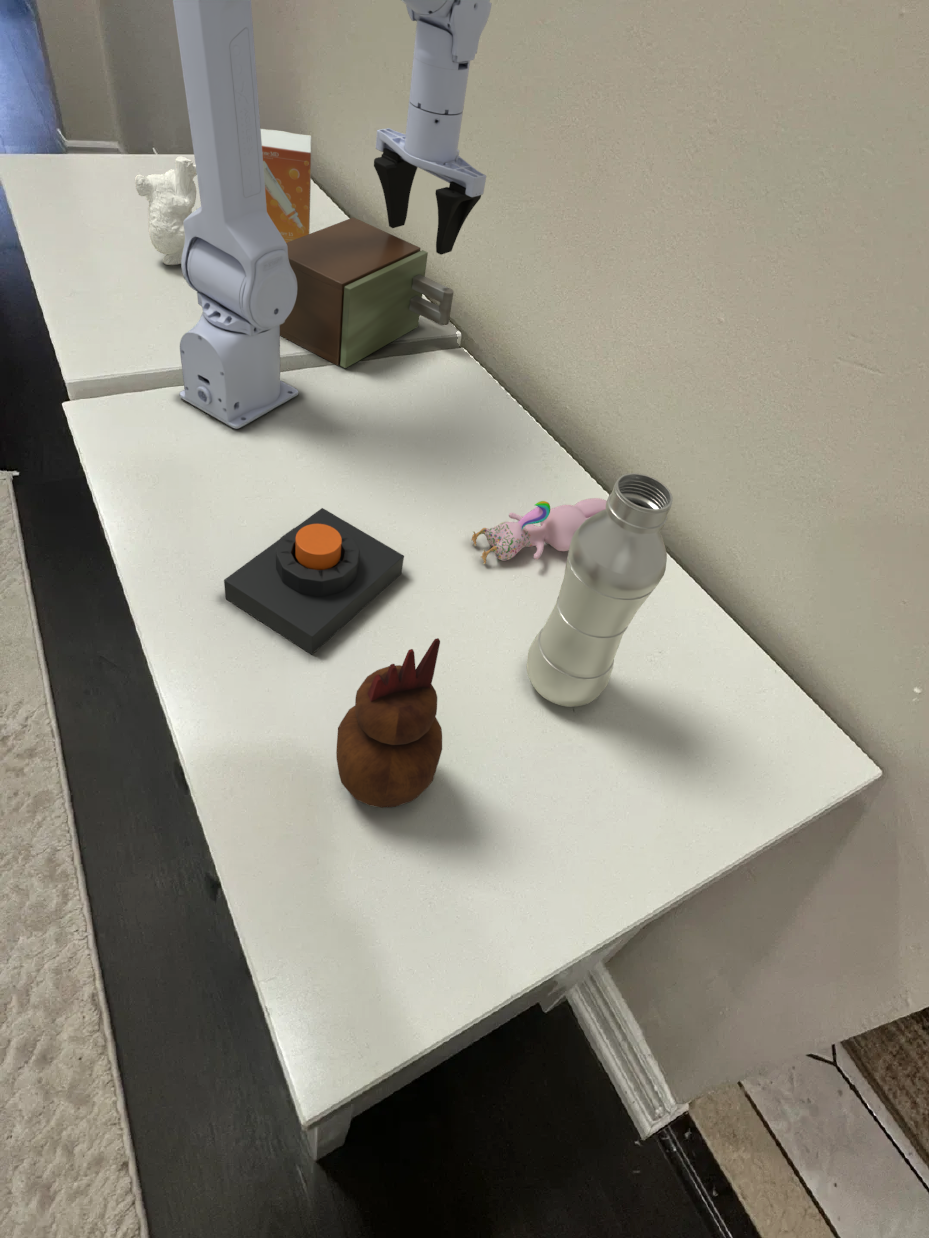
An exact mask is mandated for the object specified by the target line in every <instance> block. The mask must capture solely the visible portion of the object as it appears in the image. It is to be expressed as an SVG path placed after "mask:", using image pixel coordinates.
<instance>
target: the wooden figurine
mask: <svg viewBox="0 0 929 1238" xmlns="http://www.w3.org/2000/svg"><path fill="white" fill-rule="evenodd" d="M440 645H441V640H440V638H438V637H437V638H434V640H433V641H432V643H431V644H430V646H429V647H428V649H427V650H426V652H425V653H424V655H423V657H422V659H421V660H420V662H419V663H418V665H417V666H416V659H415V658H416V657H415V656H416V655H415V650H414V649H413V648H410V649H408V650H407V653H406V655H405V657H404V660H403V663H402V664H399V665H396V664H395V663H391V664H390V665H389V666H385V667H382V668H379V669H377V670H375V671H374V672H372V673H370V674H369V675H367V676H366V677H365V679H364V681H362V682H361V685H360V686H359V687H358V689H357V690H356V693H355V702H354V706H352V707H350V708H349V709H348V710H347V711H346V713H345V715H344V717H343V718H342V720H340V723H339V725H338V727H337V737H336V748H335V749H336V752H335V754H336V756H335V757H336V764H337V771H338V775H339V779H340V782H341V785H343V787H344V788H345V789H346V790H347V792H348V793H349V794H350V795H351V796H352V797H353V798H354V799H355V800H357V801H358V802H361V803H363V804H365V805H367V806H370V807H375V808H382V809H384V808H385V809H386V808H396V807H400V806H402V805H405V804H408V803H411V802H413V801H414V800H416V799H418V797H420V795H421V794H423V793H424V792H425V791H426V790H427V789H428V788H429V786H430V785H431V784H432V783H433V781H434V779H435V775H436V773H437V769H438V765H439V762H440V759H441V755H442V751H443V731H442V726H441V724H440V722H439V721H438V718H437V711H438V694H437V691H436V689H435V687H434V686H433V684H432V683H433V679H434V675H435V670H436V665H437V660H438V655H439V650H440Z"/></svg>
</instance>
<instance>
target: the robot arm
mask: <svg viewBox="0 0 929 1238" xmlns="http://www.w3.org/2000/svg"><path fill="white" fill-rule="evenodd" d="M400 1H401V2H402V3H404V4H405V6H406V11H407V14H408V17H409V19H410V20H411V21H412V22H416V24H415V25H416V27H415V35H414V36H415V37H414V46H413V48H414V49H413V57H412V66H411V67H412V68H411V78H410V88H409V97H408V98H409V99H408V105H407V106H408V107H407V115H406V116H407V118H406V127H405V133H403V132H400V131H397V130H394V129H392V128H390V127H386V128H381V129H377V130H376V136H375V137H376V139H375V150H377V151H379V152H381V156H379V157H375V158H374V159H373V167H374V170H375V172H376V174H377V176H378V179H379V182H380V185H381V189H382V192H383V196H384V202H385V207H386V214H387V222H388V227H389V228H391V229H395V228H399V227H403V226H405V224H406V221H407V218H408V211H409V203H410V196H411V190H412V186H413V183H414V179H415V176H416V174H417V171H418V169H420V170H422V171H425V172H426V173H428V174H430V175H433V176H435V177H436V178H438V179H441V180H442V181H444V182H446V183H448V184H449V186H445V187H441V188H437V189H435V192H434V193H435V198H436V205H437V231H436V238H435V239H436V240H435V241H436V242H435V252H436V254H438V255H445V254H448V253H451V252H452V251H453V250H454V249H453V248H454V246H455V243H456V240H457V238H458V236H459V233H460V231H461V229H462V227H463V225H464V223H465V221H466V219H467V218H468V216H469V215H470V213H471V212H472V210H473V209H474V207H475V206H476V205H477V204H478V202H479V201H480V200H481V198H482V195H484V192H485V186H486V181H487V175H486V174H485V173H482V172H481V171H479V170H477V168H475V167H473V166H472V165H471V164H470V163H469V162H468V161H466V160H465V159H464V158H462V157H461V156H460V150H459V141H460V134H461V127H462V121H463V114H464V113H463V112H464V107H465V101H466V94H467V87H468V86H467V85H468V80H469V72H470V67H471V66H470V65H471V61H474V60H475V57H476V54H477V53H478V48H479V43H480V38H481V36H482V33H483V31H484V30H485V27H486V25H487V23H488V21H489V17H490V14H491V9H492V2H491V0H400ZM172 5H173V11H174V19H175V26H176V27H175V28H176V35H177V41H178V49H179V55H180V63H181V70H182V77H183V84H184V91H185V100H186V106H187V113H188V121H189V127H190V135H191V142H192V149H193V150H192V151H193V157H194V164H195V165H196V172H197V175H196V179H197V186H198V193H199V200H200V201H199V202H200V206H199V207H198V208H196V209H195V210H194V211H192V213H191V214H190V215H189V216H188V217H187V218H186V219H185V220H184V221H183V224H184V230H185V244H184V249H183V253H182V260H181V264H180V266H181V273H182V275H183V279H184V280H185V282H186V283H187V285H188V286H189V287H190V289H192V290H194V291H195V292H196V296H197V305H199V306H200V307H201V311H202V313H201V315H200V317H199V319H198V321H197V322H196V324H195V325H194V326H193V327H192V328H190V329H189V330H188V331H187V332H185V333H184V334H183V335H182V337H181V338H180V342H179V356H180V363H181V364H180V365H181V372H182V379H183V380H182V381H183V389H184V390H181V391H180V392H179V398H180V399H182V400H184V401H185V402H187V403H189V404H190V405H192V406H194V407H196V408H197V409H200V410H201V411H203V412H205V413H207V414H208V415H210V416H212V417H213V418H215V419H217V420H218V421H220V422H222V423H224V424H226V425H227V426H229V427H230V428H232V429H235V430H236V429H237V430H238V429H240V428H242V427H244V426H246V425H248V424H250V423H252V422H253V421H255V420H256V419H258V418H260V417H262V416H264V415H265V414H268V412H271V411H272V410H274V409H276V408H277V407H279V406H281V405H282V404H285V403H287V402H288V401H290V400H292V399H293V398H295V397H297V396H298V395H299V390H298V389H297V388H295V387H293V386H292V385H290V384H288V383H286V382H284V381H282V380H281V336H280V324H283V323H284V322H285V319H286V318H287V317H288V316H289V314H290V313H291V311H292V309H293V307H294V304H295V301H296V297H297V279H296V276H295V273H294V272H293V270H292V268H291V266H290V263H289V259H288V247H287V244H286V242H285V240H284V239H283V237H282V236H281V234H280V232H279V231H278V229H277V228H276V226H275V225H274V223H273V222H272V220H271V218H270V217H269V215H268V213H267V208H266V195H265V182H264V168H263V155H262V141H261V129H262V128H261V117H260V115H261V114H260V104H259V103H260V102H259V90H258V77H257V76H258V75H257V65H256V64H257V63H256V62H257V61H256V51H255V50H256V49H255V35H254V24H253V23H254V20H253V9H252V0H172Z"/></svg>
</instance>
